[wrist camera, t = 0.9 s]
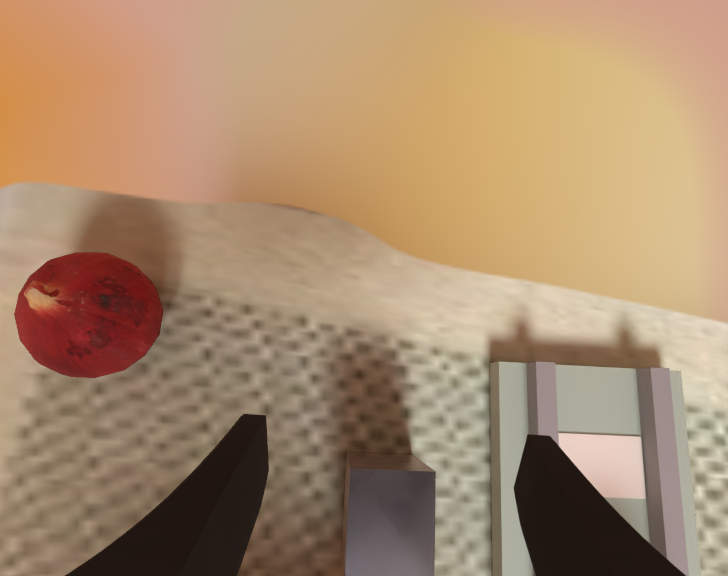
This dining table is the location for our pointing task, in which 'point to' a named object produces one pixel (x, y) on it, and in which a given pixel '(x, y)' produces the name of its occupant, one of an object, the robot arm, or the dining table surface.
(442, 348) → the dining table surface
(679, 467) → the rail
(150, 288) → the onion
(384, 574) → the brushed grey cube
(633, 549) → the robot arm
